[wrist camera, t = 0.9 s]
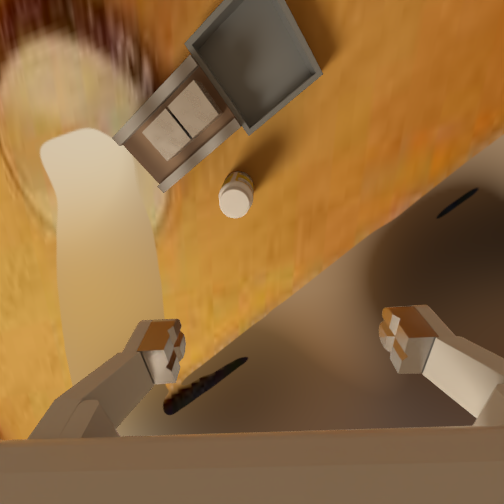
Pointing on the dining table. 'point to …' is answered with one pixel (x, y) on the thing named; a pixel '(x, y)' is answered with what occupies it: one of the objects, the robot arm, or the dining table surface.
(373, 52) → the dining table surface
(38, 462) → the robot arm
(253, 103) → the bin
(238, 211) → the supplement bottle
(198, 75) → the channel block
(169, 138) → the grey small cube
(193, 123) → the beige cube
